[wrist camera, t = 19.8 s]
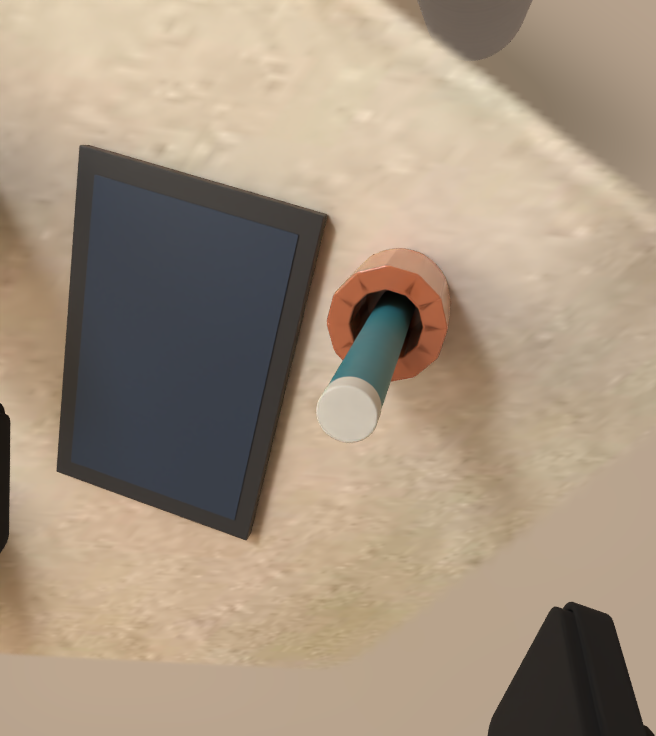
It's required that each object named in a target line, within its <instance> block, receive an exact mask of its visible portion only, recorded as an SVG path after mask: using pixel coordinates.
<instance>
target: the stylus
mask: <svg viewBox="0 0 656 736" xmlns="http://www.w3.org/2000/svg"><path fill="white" fill-rule="evenodd" d="M414 310H415V305H414V304H413V303H412V302H411V301H410V300H409V299H408V297H407V296H405V295H402V294H399V293H395V292H392V291H389V290H387V291H386V292H385V293H383V295H382V296H381V297H380V299H379V301H378V303H377V304H376V306H375V308H374V309H373V311H372V313H371V314H370V316H369V318H368V319H367V321H366V323H365V324H364V326H363V328H362V329H361V331H360V333H359V334H358V336H357V338H356V339H355V341H354V343H353V344H352V346H351V348H350V350H349V351H348V353H347V355H346V356H345V358H344V360H343V361H342V363H341V365H340V366H339V368H338V370H337V371H336V373H335V375H334V376H333V378H332V380H331V381H330V383H329V385H328V386H327V387H326V389H325V390H324V392H323V394H322V395H321V397H320V399H319V401H318V403H317V408H316V414H317V419H318V422H319V424H320V426H321V428H322V429H323V430H324V431H325V433H327V434H328V435H329V436H330V437H332V438H334V439H335V440H338V441H341V442H346V443H353V442H358V441H361V440H363V439H365V438H367V437H368V436H370V435H371V434H372V432H373V431H374V430H375V428H376V425H377V423H378V420H379V417H380V413H381V409H382V406H383V403H384V400H385V397H386V394H387V391H388V388H389V385H390V382H391V379H392V376H393V373H394V370H395V367H396V364H397V361H398V358H399V355H400V352H401V349H402V346H403V343H404V340H405V337H406V334H407V331H408V329H409V326H410V323H411V320H412V317H413V314H414Z"/></svg>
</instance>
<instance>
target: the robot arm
mask: <svg viewBox="0 0 656 736" xmlns="http://www.w3.org/2000/svg"><path fill="white" fill-rule="evenodd" d="M9 493H10V418H9V416H8V415H6V414H5V411H4V407H3V406H2V404H0V553H1V551H2V550H3V549H4V547H5V545H6V543H7V540H8V537H9ZM488 736H654V734H653V733H652V731H651V730H650V729H649V728H648V727H647V726H645V725H643V722H642V718H641V715H640V711H639V708H638V705H637V701H636V698H635V694H634V691H633V687H632V684H631V681H630V677H629V674H628V670H627V667H626V663H625V660H624V657H623V653H622V650H621V647H620V643H619V640H618V636H617V633H616V629H615V626H614V623H613V620H612V618H611V617H610V616H609V615H608V614H606V613H603V612H600V611H597V610H594V609H591V608H589V607H586V606H583V605H580V604H577V603H574V602H569V603H567V604H566V605H565V606H564V608H563V609H562V608H559V607H553V608H552V609H551V610H550V612H549V614H548V615H547V617H546V619H545V621H544V623H543V624H542V626H541V628H540V630H539V632H538V634H537V636H536V637H535V639H534V641H533V643H532V645H531V647H530V648H529V650H528V652H527V654H526V656H525V658H524V659H523V661H522V663H521V665H520V667H519V669H518V670H517V672H516V674H515V676H514V678H513V680H512V682H511V684H510V685H509V687H508V689H507V691H506V693H505V694H504V696H503V698H502V700H501V702H500V704H499V705H498V707H497V709H496V711H495V713H494V715H493V717H492V719H491V722H490V725H489V730H488Z"/></svg>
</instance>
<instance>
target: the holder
mask: <svg viewBox="0 0 656 736" xmlns="http://www.w3.org/2000/svg"><path fill="white" fill-rule="evenodd" d="M387 290H389V291H392V292H395V293H399V294H402V295H405V296H407V297H408V299H409V300H410V301H411V302H412V303H413V304H414V305H415V310H414V314H413V317H412V320H411V323H410V326H409V329H408V331H407V334H406V337H405V340H404V343H403V346H402V349H401V352H400V355H399V358H398V361H397V364H396V367H395V370H394V373H393V376H392V379H391V381H397V380H402V379H408V378H413V377H415V376H417V375H418V374H419V373H420V372H422V371H423V370H424V369H425V368H426V367H428V366H429V365H430V364H431V363H432V362H434V361H435V360H436V359H437V357H438V356H439V354H440V351H441V348H442V345H443V342H444V339H445V337H446V334H447V331H448V323H449V315H450V306H451V301H450V294H449V288H448V284H447V281H446V278H445V276H444V274H443V273H442V271H441V270H440V268H439V267H438V266H437V265H436V264H435V263H434V262H433V261H432V260H431V259H429V258H428V257H427V256H425V255H423V254H421V253H419V252H416V251H414V250H409V249H402V248H396V249H388V250H384V251H381V252H379V253H377V254H373V255H372V256H370V257H369V258H368V259H367V260H366V261H365V262H364V263H363V264H362V265H361V266H360V267H359V268H358V269H357V270H356V271H355V272H354V273H353V274H352V275H351V276H350V277H349V278H348V279H347V280H346V281H345V282H344V283H343V285H342V286H341V287H340V288H339V289H338V290H337V291H336V292H335V294H334V295H333V299H332V303H331V306H330V310H329V314H328V318H327V327H328V330H329V334H330V338H331V341H332V345H333V348H334V350H335V352H336V354H337V355H338V356H339V357H340V358H341V359H342V360H344V358H345V356H346V355H347V353H348V351H349V350H350V348H351V346H352V344H353V343H354V341H355V339H356V338H357V336H358V334H359V333H360V331H361V329H362V328H363V326H364V324H365V323H366V321H367V319H368V318H369V316H370V314H371V313H372V311H373V309H374V308H375V306H376V304H377V303H378V301H379V299H380V297H381V296H382V295H383V293H385V292H386V291H387Z"/></svg>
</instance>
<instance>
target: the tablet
mask: <svg viewBox="0 0 656 736" xmlns="http://www.w3.org/2000/svg"><path fill="white" fill-rule="evenodd" d="M326 219H327V214H324V213H321V212H317V211H314V210H311V209H307V208H304V207H300V206H297V205H293V204H290V203H286V202H283V201H280V200H276V199H273V198H269V197H266V196H262V195H259V194H255V193H252V192H249V191H245V190H242V189H238V188H235V187H231V186H228V185H224V184H221V183H218V182H214V181H211V180H207V179H204V178H200V177H197V176H193V175H190V174H187V173H183V172H180V171H176V170H173V169H169V168H166V167H163V166H159V165H156V164H152V163H149V162H145V161H142V160H138V159H135V158H132V157H128V156H125V155H121V154H118V153H114V152H111V151H107V150H104V149H101V148H97V147H94V146H90V145H80V147H79V162H78V176H77V190H76V204H75V218H74V232H73V246H72V260H71V275H70V289H69V303H68V317H67V331H66V345H65V359H64V373H63V388H62V402H61V416H60V430H59V444H58V458H57V472H59V473H62V474H65V475H68V476H70V477H73V478H76V479H79V480H81V481H84V482H87V483H90V484H92V485H95V486H98V487H101V488H103V489H106V490H109V491H112V492H114V493H117V494H120V495H123V496H125V497H128V498H131V499H134V500H136V501H139V502H142V503H145V504H147V505H150V506H153V507H156V508H158V509H161V510H164V511H167V512H169V513H172V514H175V515H178V516H180V517H183V518H186V519H189V520H191V521H194V522H197V523H200V524H202V525H205V526H208V527H211V528H213V529H216V530H219V531H222V532H224V533H227V534H230V535H233V536H235V537H238V538H241V539H244V540H247V539H248V537H249V535H250V534H251V530H252V526H253V522H254V518H255V514H256V510H257V505H258V501H259V497H260V493H261V489H262V485H263V480H264V476H265V472H266V468H267V464H268V460H269V456H270V451H271V447H272V443H273V439H274V435H275V431H276V427H277V422H278V418H279V414H280V410H281V406H282V402H283V398H284V393H285V389H286V385H287V381H288V377H289V373H290V368H291V364H292V360H293V356H294V352H295V348H296V344H297V339H298V335H299V331H300V327H301V323H302V319H303V315H304V310H305V306H306V302H307V298H308V294H309V290H310V286H311V281H312V277H313V273H314V269H315V265H316V261H317V257H318V252H319V248H320V244H321V240H322V236H323V232H324V227H325V223H326Z"/></svg>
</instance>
